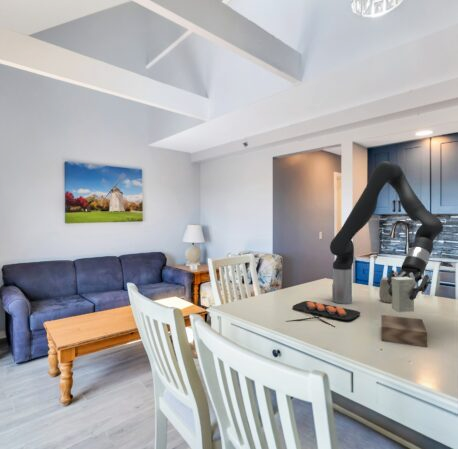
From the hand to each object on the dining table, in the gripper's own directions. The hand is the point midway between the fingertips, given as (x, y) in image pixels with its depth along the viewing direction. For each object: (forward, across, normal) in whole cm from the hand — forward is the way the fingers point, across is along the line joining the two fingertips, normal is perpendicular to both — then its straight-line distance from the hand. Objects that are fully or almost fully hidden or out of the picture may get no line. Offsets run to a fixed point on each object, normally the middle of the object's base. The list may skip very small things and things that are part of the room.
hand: (400, 296), depth 116 cm
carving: (-17, -27, +39) cm, 51 cm away
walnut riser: (+10, 0, +12) cm, 15 cm away
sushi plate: (+15, -34, +7) cm, 38 cm away
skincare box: (+3, 0, +5) cm, 6 cm away
